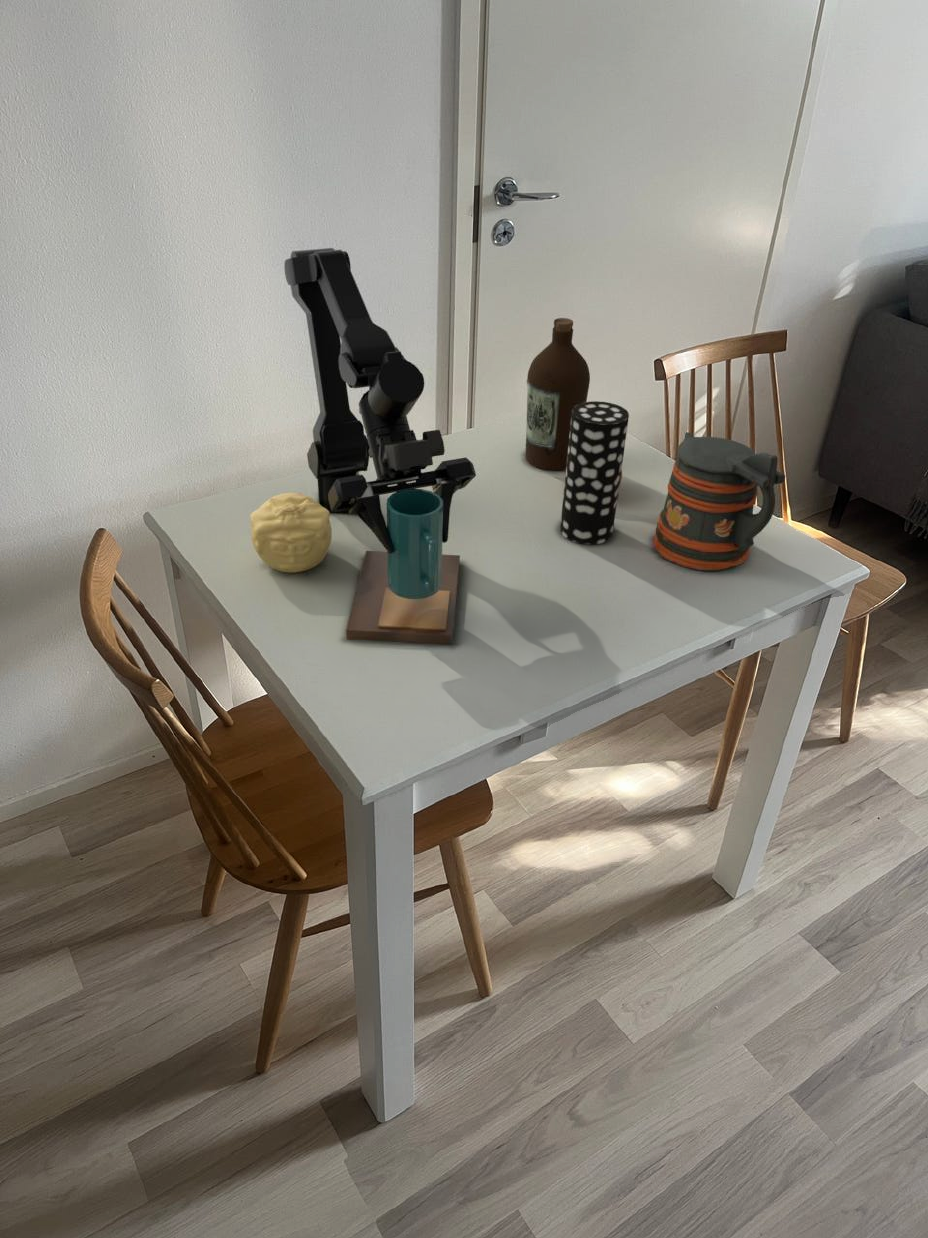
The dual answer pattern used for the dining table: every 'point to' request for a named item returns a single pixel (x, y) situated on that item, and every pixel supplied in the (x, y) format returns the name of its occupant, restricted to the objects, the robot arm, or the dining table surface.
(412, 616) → the board
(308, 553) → the sculpture
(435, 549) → the teal coffee mug
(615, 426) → the spotted tube
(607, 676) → the dining table surface
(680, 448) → the beer stein
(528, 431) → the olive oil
